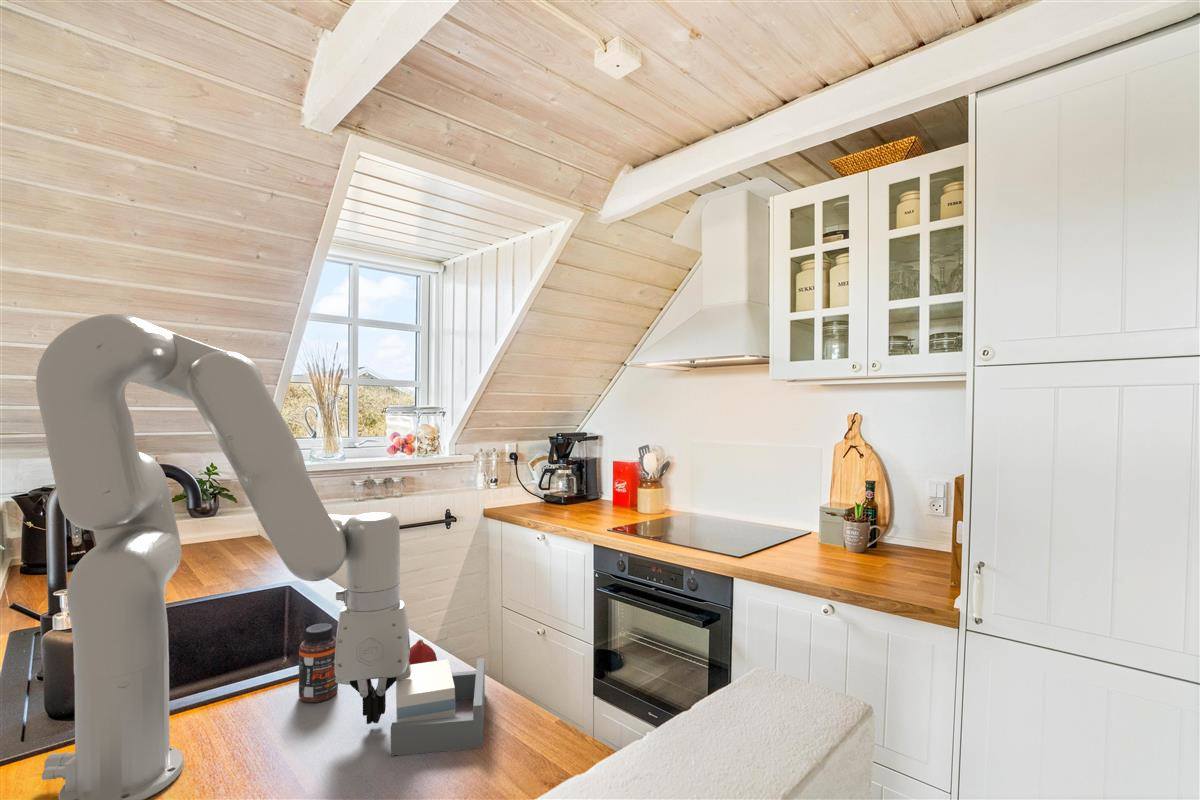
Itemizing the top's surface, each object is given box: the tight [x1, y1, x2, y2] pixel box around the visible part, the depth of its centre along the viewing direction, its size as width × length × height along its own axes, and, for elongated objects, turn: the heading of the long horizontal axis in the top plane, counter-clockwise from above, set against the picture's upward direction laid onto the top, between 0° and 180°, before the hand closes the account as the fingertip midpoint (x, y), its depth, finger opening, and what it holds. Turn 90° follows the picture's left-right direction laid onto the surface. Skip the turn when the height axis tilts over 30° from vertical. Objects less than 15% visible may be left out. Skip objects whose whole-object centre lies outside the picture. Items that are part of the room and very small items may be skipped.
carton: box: [395, 659, 456, 722], centre depth 92 cm, size 8×10×7 cm
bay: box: [390, 657, 486, 757], centre depth 92 cm, size 12×15×6 cm
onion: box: [409, 638, 438, 665], centre depth 104 cm, size 6×6×8 cm
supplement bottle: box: [298, 623, 339, 703], centre depth 100 cm, size 6×6×11 cm
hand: (374, 718), depth 90 cm, fingers closed
